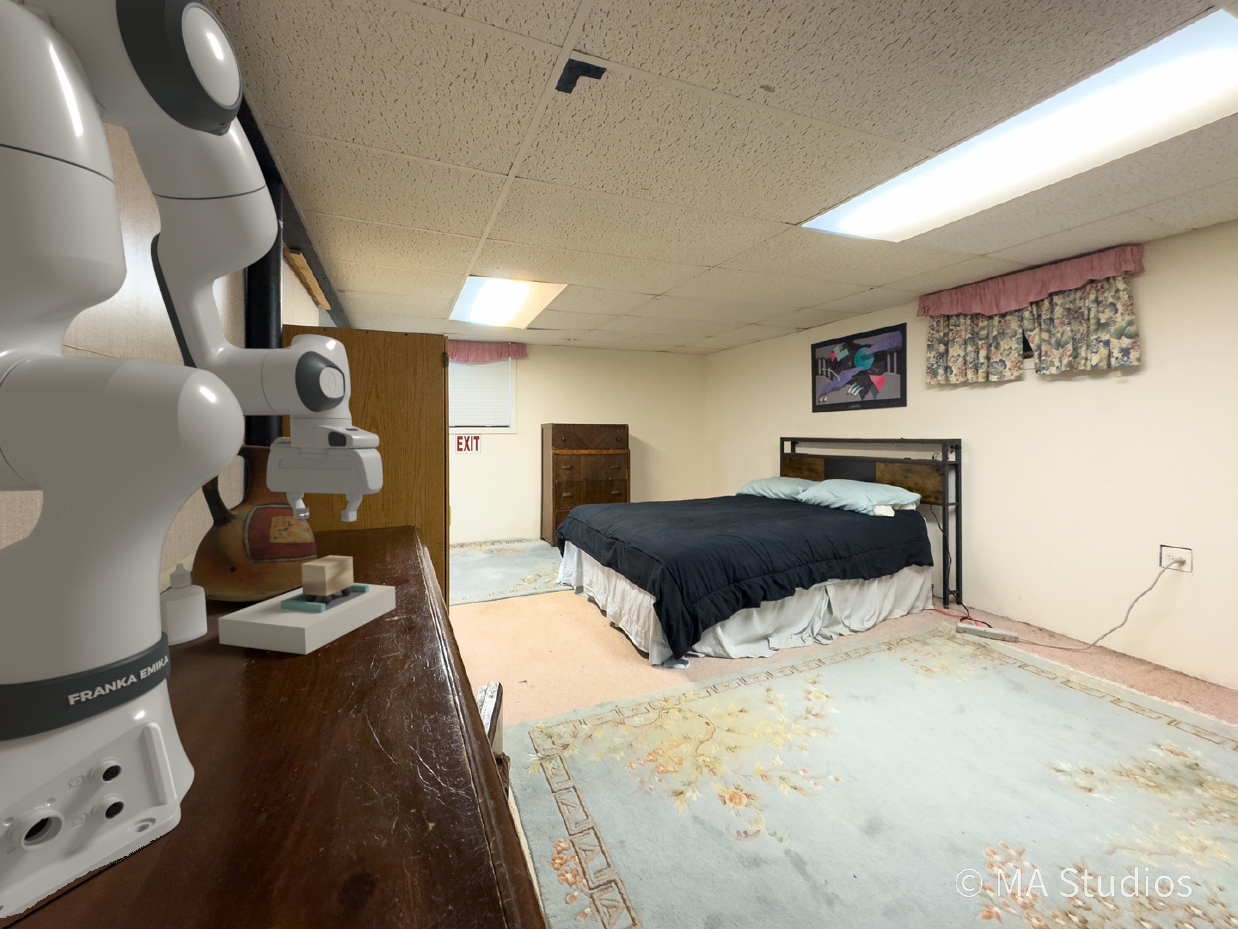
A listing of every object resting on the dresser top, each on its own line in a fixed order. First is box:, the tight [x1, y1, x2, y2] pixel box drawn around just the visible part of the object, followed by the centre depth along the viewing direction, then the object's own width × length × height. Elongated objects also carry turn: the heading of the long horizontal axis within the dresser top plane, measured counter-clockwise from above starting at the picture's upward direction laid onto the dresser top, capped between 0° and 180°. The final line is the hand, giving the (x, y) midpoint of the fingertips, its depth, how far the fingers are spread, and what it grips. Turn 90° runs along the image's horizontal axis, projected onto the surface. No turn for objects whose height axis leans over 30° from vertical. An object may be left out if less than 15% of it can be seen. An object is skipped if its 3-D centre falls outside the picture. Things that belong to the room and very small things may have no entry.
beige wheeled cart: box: [302, 554, 355, 604], centre depth 87 cm, size 6×5×7 cm
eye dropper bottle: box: [160, 563, 208, 647], centre depth 80 cm, size 4×6×12 cm
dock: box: [217, 582, 397, 655], centre depth 87 cm, size 20×16×5 cm
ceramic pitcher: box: [191, 444, 318, 603], centre depth 101 cm, size 20×20×30 cm
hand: (325, 519), depth 86 cm, fingers open, 8 cm apart
